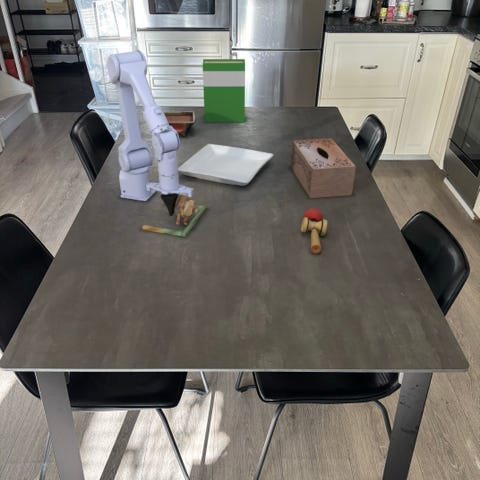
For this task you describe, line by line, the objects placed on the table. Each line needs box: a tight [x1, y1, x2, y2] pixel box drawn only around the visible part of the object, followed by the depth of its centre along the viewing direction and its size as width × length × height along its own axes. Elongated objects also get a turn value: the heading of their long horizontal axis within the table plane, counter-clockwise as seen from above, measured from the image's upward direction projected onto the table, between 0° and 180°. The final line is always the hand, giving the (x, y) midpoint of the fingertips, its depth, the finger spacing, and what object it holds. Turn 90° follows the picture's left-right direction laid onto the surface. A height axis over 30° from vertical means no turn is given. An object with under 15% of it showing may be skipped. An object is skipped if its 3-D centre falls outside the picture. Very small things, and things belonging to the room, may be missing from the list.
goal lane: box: [141, 201, 208, 238], centre depth 165 cm, size 14×18×1 cm
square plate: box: [178, 143, 274, 187], centre depth 193 cm, size 27×27×4 cm
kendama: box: [300, 208, 328, 254], centre depth 155 cm, size 8×6×18 cm
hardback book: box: [202, 58, 246, 123], centre depth 231 cm, size 18×7×24 cm, turn 91°
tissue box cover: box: [290, 137, 357, 199], centre depth 185 cm, size 26×14×10 cm, turn 10°
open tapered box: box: [163, 110, 197, 138], centre depth 222 cm, size 14×18×10 cm
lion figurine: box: [172, 194, 200, 226], centre depth 162 cm, size 15×5×9 cm, turn 20°
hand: (172, 214), depth 165 cm, fingers closed, pressing on lion figurine
